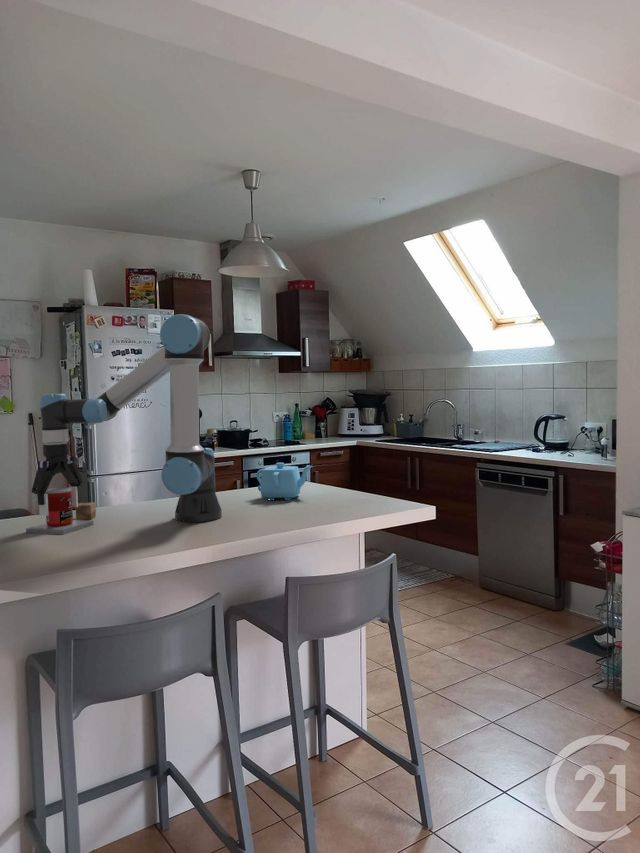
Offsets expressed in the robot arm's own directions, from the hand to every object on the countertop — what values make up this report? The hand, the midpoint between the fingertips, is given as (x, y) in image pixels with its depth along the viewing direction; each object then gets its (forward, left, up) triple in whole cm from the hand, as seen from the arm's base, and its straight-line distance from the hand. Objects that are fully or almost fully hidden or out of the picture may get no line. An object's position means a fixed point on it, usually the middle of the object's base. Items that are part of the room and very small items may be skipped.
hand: (59, 511), depth 208 cm
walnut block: (+2, -15, -6) cm, 16 cm away
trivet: (0, 0, -5) cm, 5 cm away
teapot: (-51, -63, -6) cm, 81 cm away
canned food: (0, 0, -4) cm, 4 cm away
